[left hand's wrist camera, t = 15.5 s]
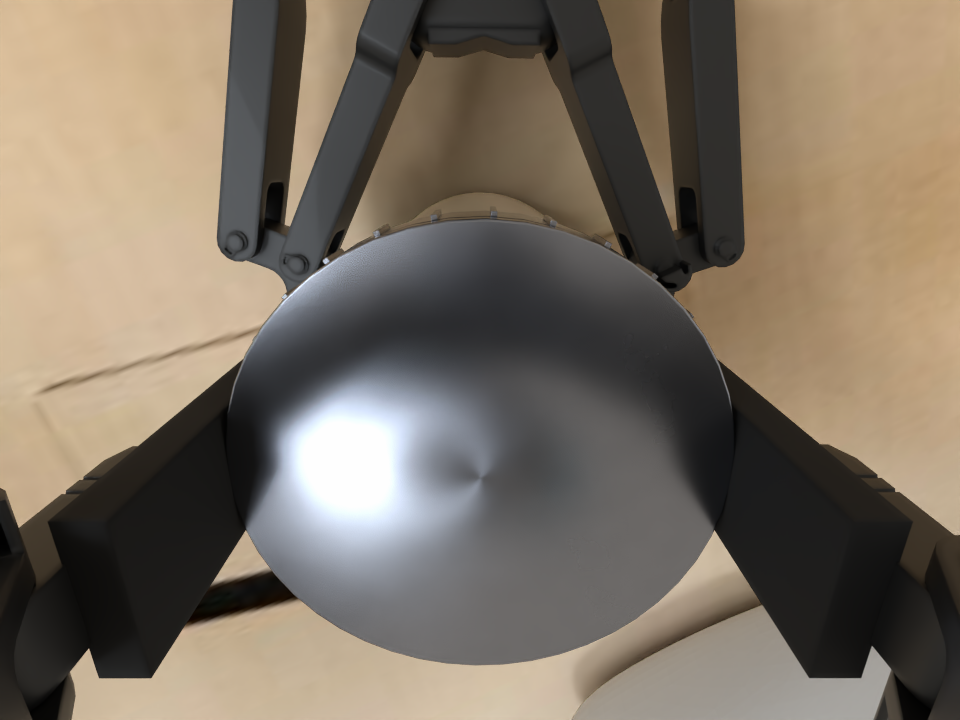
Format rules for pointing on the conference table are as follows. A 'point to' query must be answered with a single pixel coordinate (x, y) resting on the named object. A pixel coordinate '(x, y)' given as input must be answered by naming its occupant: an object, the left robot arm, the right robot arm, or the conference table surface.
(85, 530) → the left robot arm
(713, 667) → the projector
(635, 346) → the lid
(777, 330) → the conference table surface
